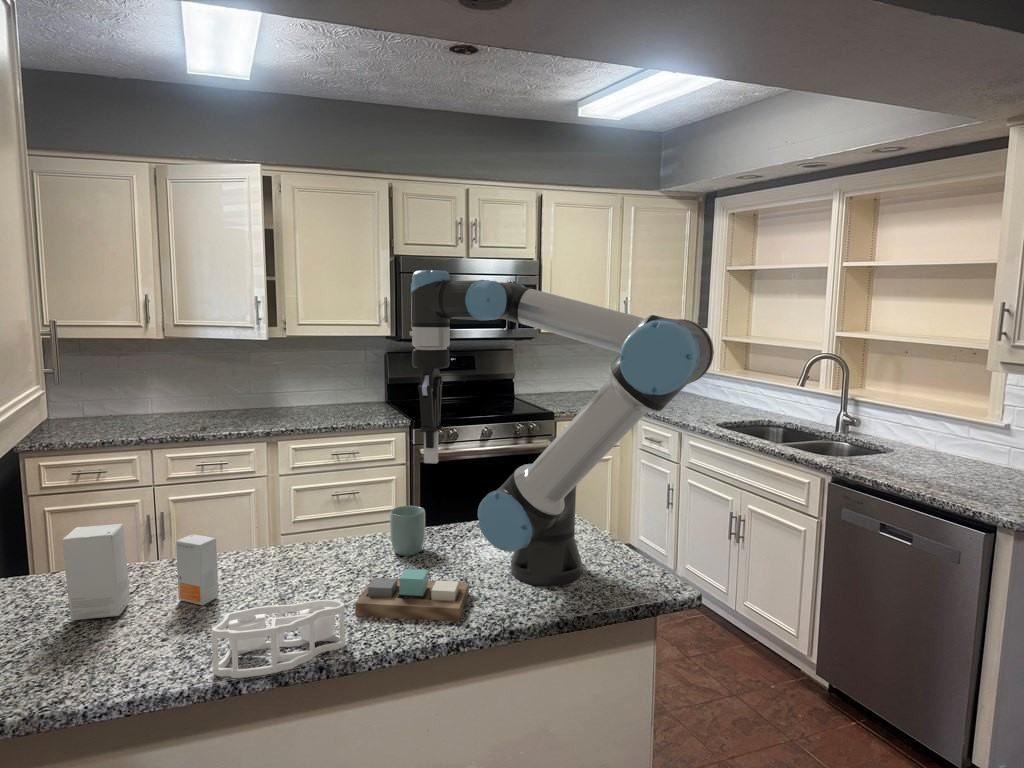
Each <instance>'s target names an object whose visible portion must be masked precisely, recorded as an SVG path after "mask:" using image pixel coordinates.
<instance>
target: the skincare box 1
mask: <svg viewBox="0 0 1024 768" xmlns="http://www.w3.org/2000/svg"><path fill="white" fill-rule="evenodd" d="M124 530H125V529H124V524H123V523H117V524H116V523H115V524H103V525H91V526H90V525H89V526H78V527H75V528H74V529H72V530H71V532H69V533H68V534H67V535H65V536H64V537H63V538H62V539H61V542H62V544H61V545H62V553H63V561H64V570H65V579H66V589H67V597H68V598H67V599H68V607H69V615H70V621H79V620H89V619H90V620H92V619H100V618H108V617H110V618H111V617H119V616H120V615H121V614H122V613H123V611H124V610H125V609H126V607H127V606H128V605H129V603H130V602H131V594H130V583H129V573H128V572H129V571H128V562H127V561H128V560H127V552H126V551H127V550H126V543H125V542H126V541H125V531H124Z"/></svg>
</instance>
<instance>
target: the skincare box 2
mask: <svg viewBox="0 0 1024 768" xmlns="http://www.w3.org/2000/svg"><path fill="white" fill-rule="evenodd" d="M175 546H176V547H175V549H176V570H177V571H176V572H177V591H178V600H179V601H182V602H187V603H192V604H196V605H199V606H205V605H206V604H208V603H210V602H212V601H213V600H216V599H217V598H218V597H219V581H218V580H219V579H218V578H219V577H218V560H217V559H218V557H217V556H218V555H217V554H218V553H217V538H216V537H210V536H208V535H207V536H206V535H198V534H189V535H187V536H185V537H181V538H179V539H178V540H176V541H175Z"/></svg>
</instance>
